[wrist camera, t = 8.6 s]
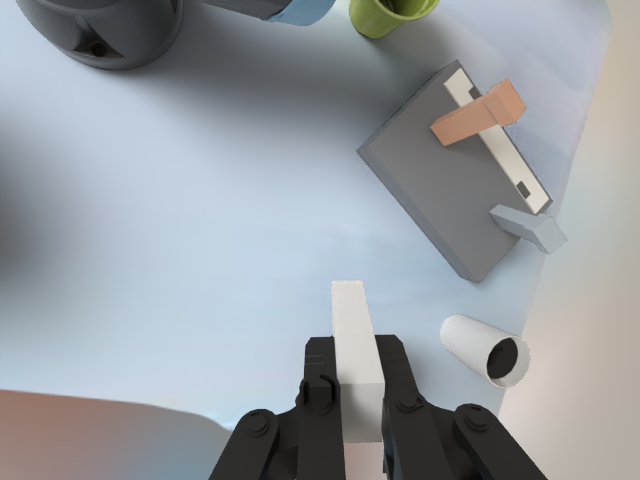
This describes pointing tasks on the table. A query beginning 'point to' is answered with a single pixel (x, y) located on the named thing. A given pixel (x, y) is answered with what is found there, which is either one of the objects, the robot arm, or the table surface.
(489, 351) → the white paper cup
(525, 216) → the slate lever
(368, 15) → the plant pot
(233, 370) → the table surface
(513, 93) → the terracotta lever
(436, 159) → the switch unit
